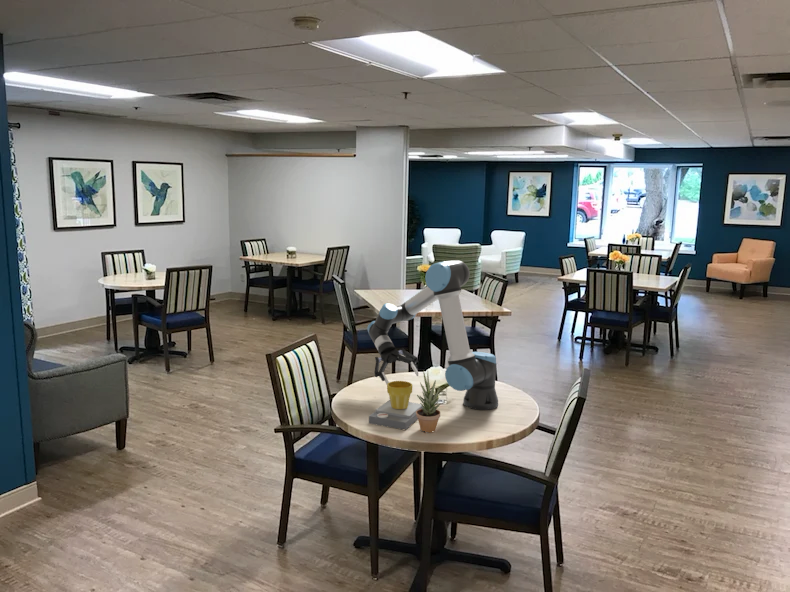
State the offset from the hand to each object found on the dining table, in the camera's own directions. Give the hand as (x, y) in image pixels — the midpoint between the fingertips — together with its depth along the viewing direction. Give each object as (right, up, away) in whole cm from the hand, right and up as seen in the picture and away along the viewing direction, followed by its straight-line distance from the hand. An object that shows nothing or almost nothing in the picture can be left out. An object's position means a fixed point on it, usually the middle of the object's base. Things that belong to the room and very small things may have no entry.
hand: (403, 379), depth 272 cm
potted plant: (+9, -17, -24) cm, 31 cm away
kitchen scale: (-2, -14, -11) cm, 18 cm away
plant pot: (-2, -10, -10) cm, 15 cm away
